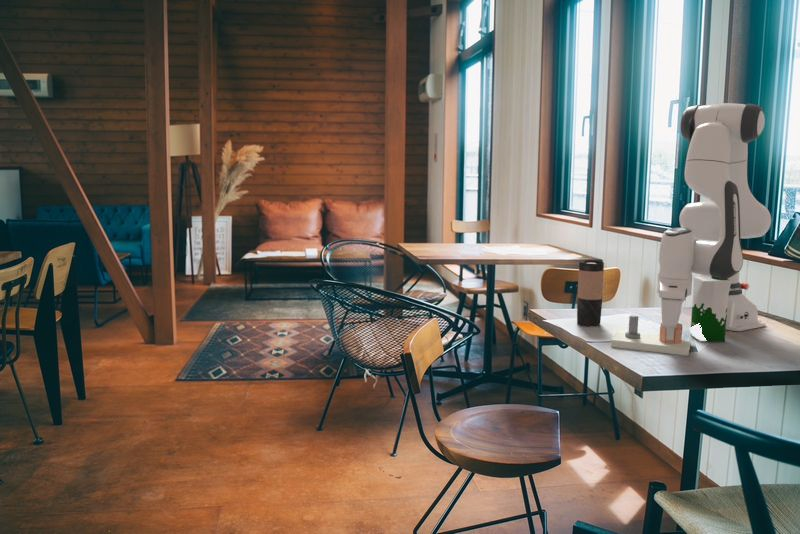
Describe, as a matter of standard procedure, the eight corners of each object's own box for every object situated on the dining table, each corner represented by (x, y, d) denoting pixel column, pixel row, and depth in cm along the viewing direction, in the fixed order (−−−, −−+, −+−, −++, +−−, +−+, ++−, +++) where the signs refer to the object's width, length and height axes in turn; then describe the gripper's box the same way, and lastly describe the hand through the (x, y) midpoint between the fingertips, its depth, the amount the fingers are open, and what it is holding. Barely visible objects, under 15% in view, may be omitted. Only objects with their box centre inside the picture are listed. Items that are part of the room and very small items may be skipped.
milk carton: (729, 343, 194) (735, 274, 191) (697, 342, 194) (702, 273, 191) (716, 335, 203) (721, 269, 200) (685, 335, 203) (690, 269, 200)
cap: (671, 337, 192) (672, 321, 191) (685, 342, 186) (687, 325, 186) (655, 339, 190) (656, 322, 189) (669, 344, 185) (670, 327, 184)
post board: (690, 345, 192) (692, 317, 190) (688, 355, 181) (690, 326, 180) (616, 337, 200) (618, 310, 199) (610, 346, 189) (612, 318, 188)
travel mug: (602, 327, 212) (605, 264, 209) (576, 326, 213) (579, 263, 210) (599, 321, 219) (603, 260, 216) (575, 320, 221) (578, 260, 218)
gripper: (664, 280, 196) (661, 327, 199) (658, 292, 178) (655, 343, 180) (688, 282, 194) (685, 329, 196) (684, 294, 176) (681, 346, 178)
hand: (670, 336), depth 188 cm, fingers closed on cap, 6 cm apart
